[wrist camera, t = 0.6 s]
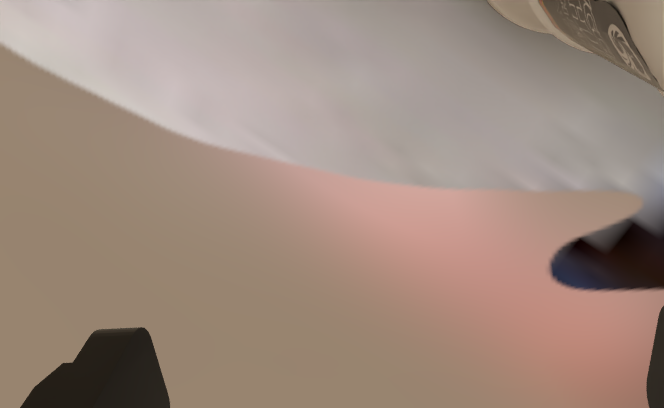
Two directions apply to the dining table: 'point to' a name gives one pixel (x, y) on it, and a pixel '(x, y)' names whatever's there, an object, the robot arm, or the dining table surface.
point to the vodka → (600, 29)
